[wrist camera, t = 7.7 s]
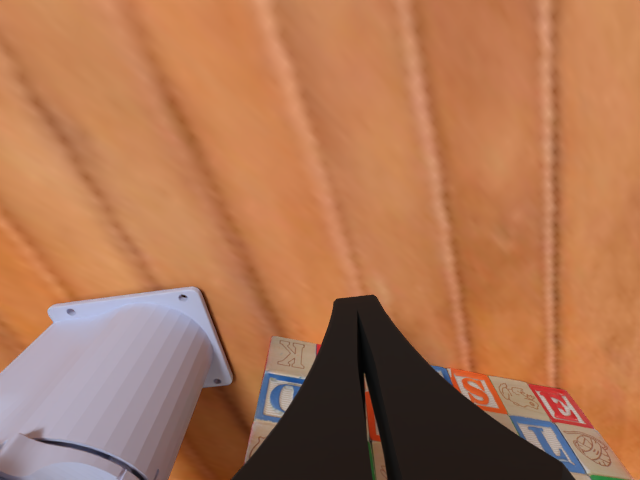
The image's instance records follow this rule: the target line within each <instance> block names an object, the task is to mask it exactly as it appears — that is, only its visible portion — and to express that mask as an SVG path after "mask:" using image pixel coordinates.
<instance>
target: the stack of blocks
mask: <svg viewBox="0 0 640 480" xmlns="http://www.w3.org/2000/svg"><path fill="white" fill-rule="evenodd" d="M320 347H321V345H319V344H314V343H309V342H304V341H299V340H293V339H288V338H282V337H277V336H272V337H271V341H270V346H269V351H268V355H267V360H266V365H265V370H264V374H263V379H262V384H261V389H260V394H259V399H258V404H257V408H256V413H255V417H254V422H253V424H252V428H251V433H250V437H249V441H248V448H247V452H246V456H245V461H244V464H245V463H246V462H247V461H248V460H249V459H250V457H251V456H252V455H253V454H254V453H255V451H256V450H257V449H258V448H259V446H260V445H261V444H262V442H263V441H264V440H265V439H266V437H267V436H268V435H269V433H270V432H271V431H272V429H273V428H274V427H275V425H276V424H277V423H278V421H279V420H280V419H281V417H282V416H283V414H284V413H285V411H286V410H287V408H288V407H289V405H290V403H291V402H292V400H293V399H294V397H295V396H296V394H297V392H298V391H299V389H300V387H301V385H302V384H303V382H304V380H305V378H306V376H307V375H308V373H309V371H310V369H311V367H312V365H313V362H314V360H315V358H316V356H317V354H318V351H319V349H320ZM430 366H431V365H430ZM431 367H432V368H434V369H435V370H436V371H437V372H438V373H439V374H440V375H441V376H442V377H443V378H444V379H445V380H446V381H448V382H449V383H450V384H451V385H452V386H453V387H454V388H456V389H457V390H458V391H459V392H460V393H461V394H463V395H464V396H465V397H467V398H468V399H469V400H470V401H472V402H473V403H474V404H476V405H477V406H478V407H480V408H481V409H482V410H483V411H485V412H486V413H487V414H489V415H490V416H491V417H492V418H494V419H495V420H497V421H498V422H500V423H501V424H503V425H504V426H505V427H507V428H508V429H510V430H511V431H513V432H514V433H515V434H517V435H518V436H520V437H522V438H523V439H525V440H527V441H528V442H530V443H531V444H533V445H535V446H536V447H538V448H540V449H541V450H543V451H544V452H546V453H548V454H549V455H551V456H553V457H554V458H556V459H557V460H559V461H561V462H562V463H563V464H564V465H565V466H566V468H567V469H568V470H569V472H570V473H571V474H572V475H573V477H574V478H575V479H576V480H634V479H633V478H632V476H631V475H630V473H629V472H628V471H627V469H626V468H625V466H624V465H623V464H622V462H621V461H620V460H619V459H618V457H617V456H616V455H615V453H614V452H613V451H612V449H611V448H610V446H609V445H608V444H607V443H606V441H605V440H604V439H603V437H602V436H601V434H600V433H599V432H598V431H597V430H595V429H594V427H593V426H592V424H591V423H590V421H589V420H588V419H587V417H586V416H585V415H584V413H583V412H582V410H581V409H580V408H579V406H578V405H577V404H576V403H575V401H574V400H573V399H572V397H571V396H570V395H569V394H568V392H567V391H566V390H563V389H556V388H550V387H544V386H539V385H532V384H527V383H525V382H522V381H517V380H512V379H507V378H501V377H495V376H486V375H483V374H479V373H473V372H468V371H463V370H458V369H452V368H446V369H445V368H443V367H437V366H431ZM364 382H365V404H366V427H367V441H368V448H369V455H370V463H371V470H372V478H373V480H387V473H386V467H385V461H384V454H383V449H382V445H381V440H380V435H379V431H378V427H377V423H376V419H375V415H374V411H373V407H372V403H371V399H370V394H369V390H368V386H367V382H366V378H365V374H364Z"/></svg>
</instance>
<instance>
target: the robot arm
mask: <svg viewBox="0 0 640 480" xmlns="http://www.w3.org/2000/svg"><path fill="white" fill-rule="evenodd" d="M181 294H182V295H185V296H187V298H184V297H183V296H182V295H181ZM72 309H73V310H74V311H73V310H72ZM48 315H49V316H50V318H51V319H52V321H53V324H52V325H50V326H49V327H48V328H47V329H46V330H45V331H44V332H43V333H42V334H41V335H40V336H39V337H38V338H37V339H36V340H35V341H34V342H33V343H31V344H30V345H29V346H28V347H27V348H26V349H25V350H24V351H23V352H22V353H21V354H20V355H19V356H18V357H17V358H16V359H15V360H14V361H13V362H11V363H10V364H9V365H8V366H7V367H6V368H5V369H4V370H3V371H2V372H1V373H0V480H168V479H169V476H170V473H171V471H172V468H173V465H174V463H175V460H176V457H177V455H178V452H179V449H180V447H181V444H182V441H183V439H184V436H185V433H186V430H187V428H188V425H189V422H190V420H191V417H192V414H193V412H194V409H195V406H196V404H197V401H198V398H199V396H200V393H201V390H202V388H205V387H215V386H224V385H229V384H231V383H232V380H233V375H232V372H231V369H230V367H229V364H228V361H227V359H226V356H225V353H224V351H223V348H222V346H221V343H220V340H219V338H218V335H217V332H216V330H215V327H214V325H213V322H212V319H211V317H210V314H209V311H208V309H207V306H206V304H205V301H204V298H203V296H202V293H201V291H200V290H199V289H198V288H196V287H184V288H176V289H168V290H161V291H153V292H145V293H137V294H130V295H122V296H114V297H106V298H98V299H91V300H83V301H75V302H67V303H60V304H54V305H52V306H51V307H50V308H49V309H48ZM364 374H365V378H366V382H367V386H368V390H369V394H370V399H371V403H372V407H373V411H374V415H375V419H376V423H377V427H378V431H379V435H380V440H381V445H382V449H383V454H384V461H385V467H386V473H387V480H576V479H575V478H574V477H573V475H572V474H571V473H570V472H569V470H568V469H567V468H566V466H565V465H564V464H563V463H562V462H561V461H559V460H557V459H556V458H554V457H553V456H551V455H549V454H548V453H546V452H544V451H543V450H541V449H540V448H538V447H536V446H535V445H533V444H531V443H530V442H528V441H527V440H525V439H523V438H522V437H520V436H518V435H517V434H515V433H514V432H513V431H511V430H510V429H508V428H507V427H505V426H504V425H503V424H501V423H500V422H498V421H497V420H495V419H494V418H492V417H491V416H490V415H489V414H487V413H486V412H485V411H483V410H482V409H481V408H480V407H478V406H477V405H476V404H474V403H473V402H472V401H470V400H469V399H468V398H467V397H465V396H464V395H463V394H461V393H460V392H459V391H458V390H457V389H456V388H454V387H453V386H452V385H451V384H450V383H449V382H448V381H446V380H445V379H444V378H443V377H442V376H441V375H440V374H439V373H438V372H437V371H436V370H435V369H434V368H432V367H431V366H430V365H429V364H428V363H427V362H426V360H425V359H424V358H423V357H422V356H421V355H420V354H419V353H418V352H417V351H416V350H415V349H414V348H413V347H412V345H411V344H410V343H409V342H408V341H407V340H406V338H405V337H404V336H403V335H402V333H401V332H400V331H399V330H398V328H397V327H396V326H395V325H394V323H393V322H392V321H391V319H390V318H389V316H388V315H387V314H386V312H385V311H384V309H383V307H382V306H381V304H380V302H379V301H378V299H377V297H376V296H374V295H366V296H358V297H349V298H340V299H336V300H335V301H334V304H333V310H332V315H331V319H330V322H329V325H328V328H327V331H326V334H325V336H324V339H323V342H322V345H321V347H320V349H319V351H318V354H317V356H316V358H315V360H314V362H313V365H312V367H311V369H310V371H309V373H308V375H307V376H306V378H305V380H304V382H303V384H302V385H301V387H300V389H299V391H298V392H297V394H296V396H295V397H294V399H293V400H292V402H291V403H290V405H289V407H288V408H287V410H286V411H285V413H284V414H283V416H282V417H281V419H280V420H279V421H278V423H277V424H276V425H275V427H274V428H273V429H272V431H271V432H270V433H269V435H268V436H267V437H266V439H265V440H264V441H263V442H262V444H261V445H260V446H259V448H258V449H257V450H256V451H255V453H254V454H253V455H252V456H251V457H250V459H249V460H248V461H247V462H246V463H245V464H244V465H243V466H242V468H241V469H240V470H239V471H238V472H237V473H236V474H235V475H234V477H233V478H232V479H231V480H373V478H372V470H371V463H370V455H369V448H368V441H367V427H366V404H365V382H364Z"/></svg>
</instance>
